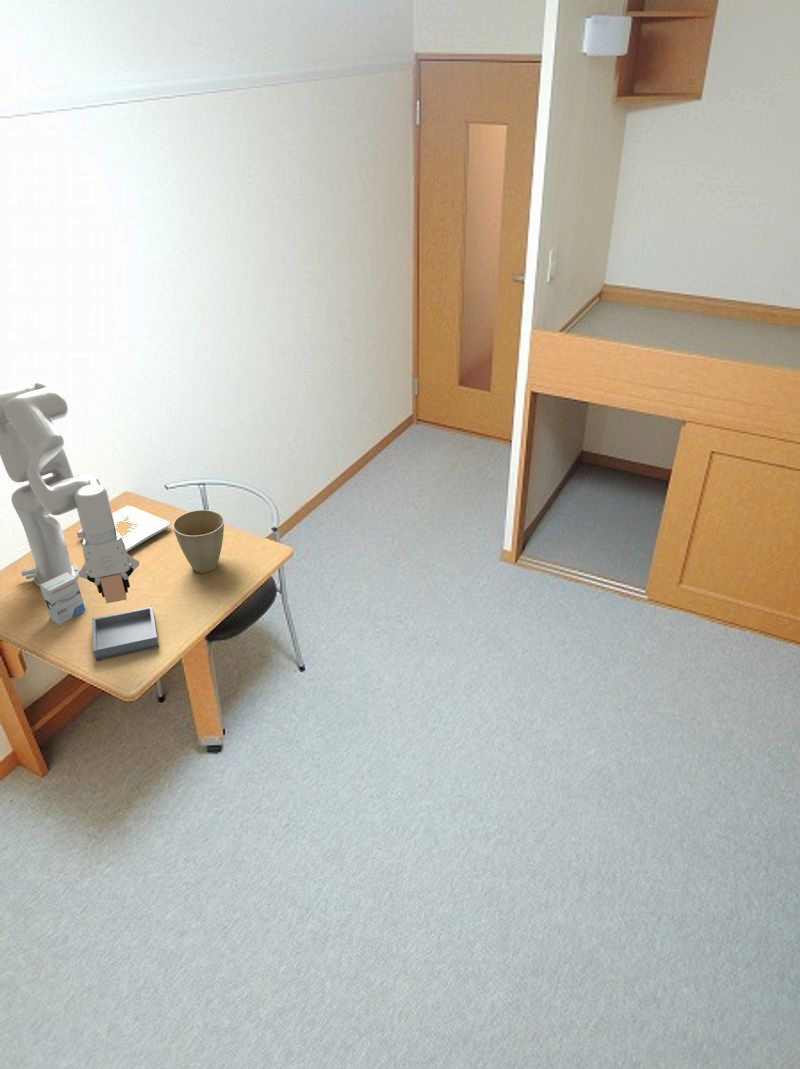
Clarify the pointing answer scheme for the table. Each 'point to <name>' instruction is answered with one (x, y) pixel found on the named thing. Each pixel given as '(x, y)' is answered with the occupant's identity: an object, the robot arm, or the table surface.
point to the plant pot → (200, 538)
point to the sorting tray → (124, 633)
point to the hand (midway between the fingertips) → (115, 591)
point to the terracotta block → (113, 588)
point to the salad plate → (139, 525)
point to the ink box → (62, 597)
